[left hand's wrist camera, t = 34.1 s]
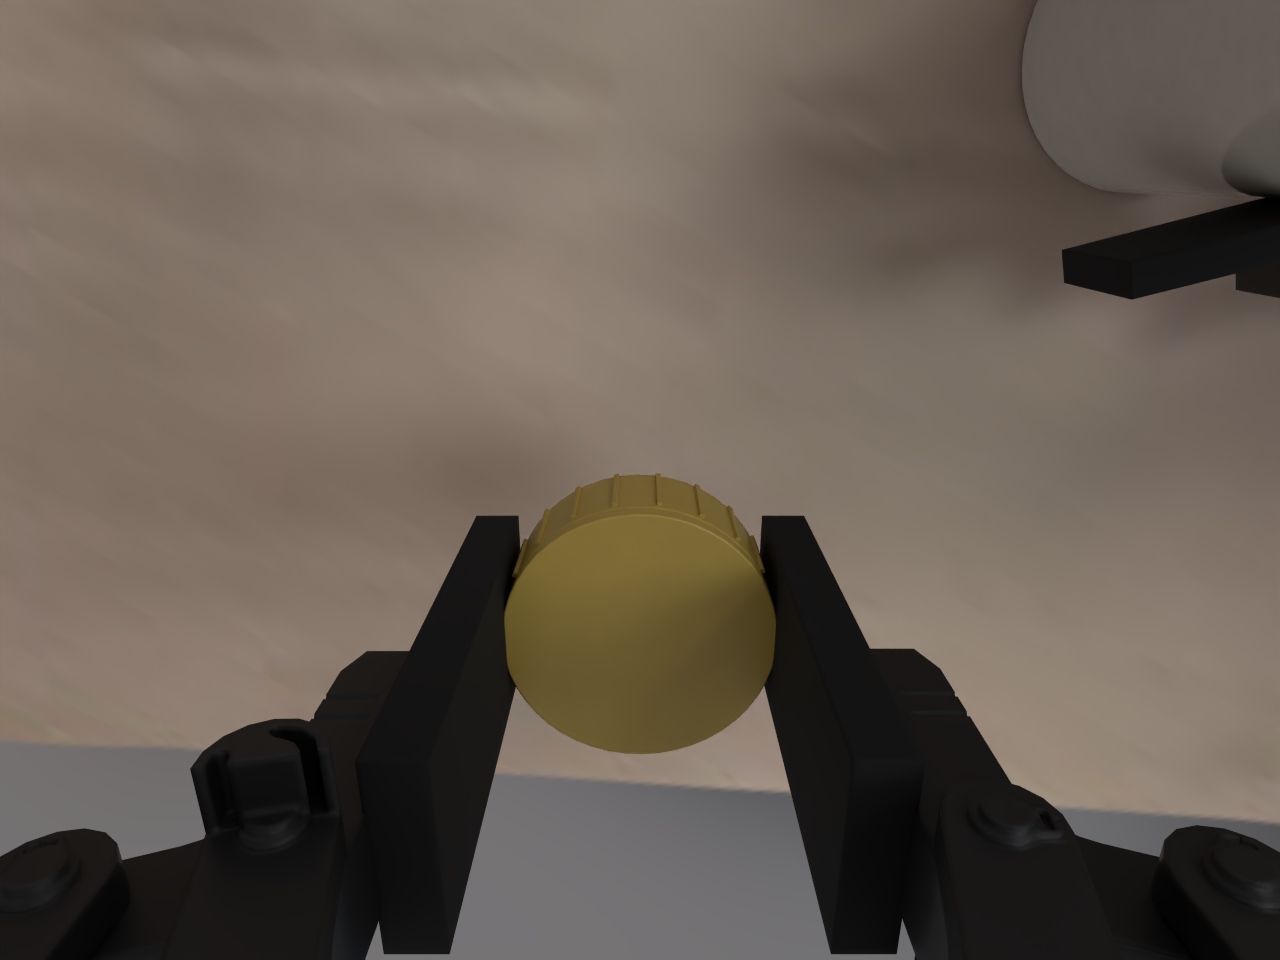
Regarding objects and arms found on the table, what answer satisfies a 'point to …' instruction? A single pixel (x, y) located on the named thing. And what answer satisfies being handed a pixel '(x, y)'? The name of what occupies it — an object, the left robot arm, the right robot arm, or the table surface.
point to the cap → (639, 616)
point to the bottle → (1158, 94)
